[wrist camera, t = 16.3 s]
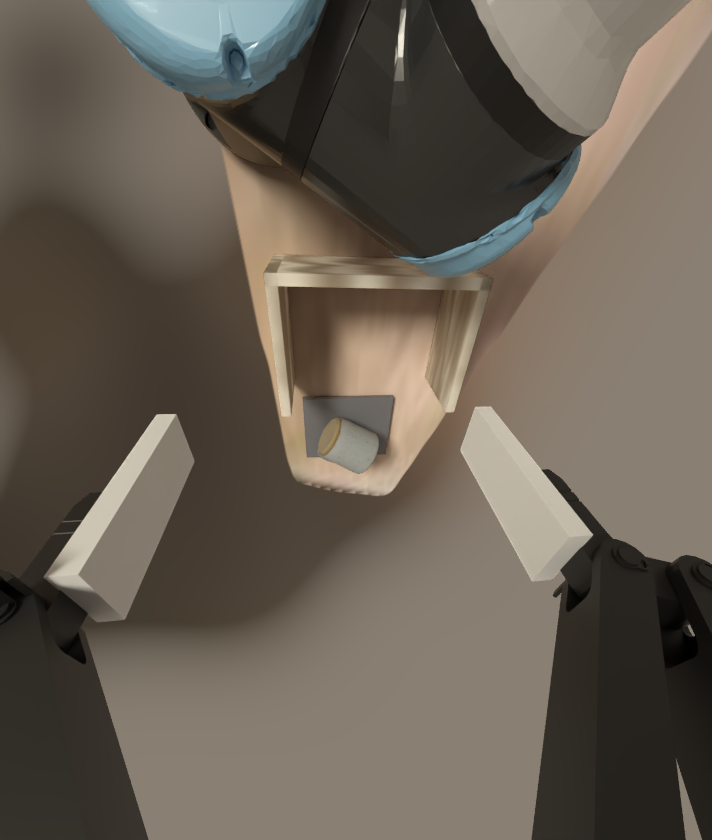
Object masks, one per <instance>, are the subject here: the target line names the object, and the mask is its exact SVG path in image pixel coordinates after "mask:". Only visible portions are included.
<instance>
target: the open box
mask: <svg viewBox="0 0 712 840" xmlns="http://www.w3.org/2000/svg"><path fill="white" fill-rule="evenodd" d="M264 281H265V288H266V296H267V304H268V312H269V320H270V328H271V336H272V343H273V351H274V359H275V367H276V375H277V383H278V391H279V399H280V406H281V414H282V416H291V413H292V404H293V394H294V385H295V370H294V358H293V347H292V335H291V323H290V312H289V300H288V288H287V286H289V287H335V288H382V289H429V290H443V293H442V297H441V302H440V307H439V312H438V316H437V321H436V326H435V331H434V336H433V340H432V345H431V350H430V355H429V360H428V364H427V369H426V374H425V378H426V379H427V381H428V383H429V385H430V386H431V388H432V390H433V391H434V393H435V395H436V397H437V398H438V400H439V402H440V404H441V405H442V407H443V409H444V411H445V412H454V410H455V406H456V403H457V399H458V396H459V393H460V390H461V386H462V383H463V380H464V376H465V373H466V370H467V366H468V363H469V359H470V356H471V353H472V349H473V346H474V343H475V339H476V336H477V333H478V329H479V326H480V322H481V319H482V316H483V312H484V309H485V306H486V302H487V299H488V296H489V292H490V289H491V286H492V282H493V278H491V277H489V276H487V275H485V274H483V273H482V272H480V271H478V270H475V271H473V272H471V273H468V274H465V275H462V276H458V277H452V278H438V277H434V276H431V275H428V274H426V273H425V272H423V271H421V270H420V269H419V268H417V267H416V266H414V265H412V264H411V263H409V262H406V261H403V260H400V259H399V258H370V257H340V256H309V255H279V254H274V256H273V258H272V259H271V261H270V263H269V264H268V266H267V268H266V269H265V271H264Z"/></svg>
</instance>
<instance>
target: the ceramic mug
mask: <svg viewBox="0 0 712 840" xmlns="http://www.w3.org/2000/svg"><path fill="white" fill-rule="evenodd" d="M378 447H379V439H378V436H377V435H376V434H375V433H373V432H371V431H369V430H367V429H365V428H363V427H361V426H358V425H356V424H354V423H352V422H350V421H348V420H346V419H343V418H338V417H337V418H334V419H332V420H331V421H330V422H329V423H328V424H327V425H326V427H325V428H324V430H323V432H322V434H321V437H320V440H319V444H318V452H317V453H318V455H319V456H320V457H321V458H323V459H324V460H326V461H329V462H333V463H336V464H338V465H340V466H342V467H344V468H346V469H348V470H350V471H352V472H354V473H357V474H360V473H363V472H365V471H366V470H367V469H368V468H369V467H370V466H371V464H372V463H373V461H374V459H375V457H376V455H377V452H378Z"/></svg>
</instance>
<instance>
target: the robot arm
mask: <svg viewBox="0 0 712 840" xmlns="http://www.w3.org/2000/svg"><path fill="white" fill-rule="evenodd" d="M86 1H87V2H88V4H89V5H90V6H91V8H92V9H93V10H94V11H95V13H96V14H97V15H98V16H99V18H100V19H101V20H102V21H103V22H104V23H105V25H106V26H107V27H108V28H109V29H110V30H111V31H112V32H113V34H114V35H115V37H116V38H117V39H118V41H119V42H120V43H121V44H122V45H124V46H125V47H126V48H127V49H128V51H129V53H130V54H131V55H132V57H133V58H134V59H135V60H136V61H137V62H139V63H140V64H141V65H142V66H143V67H144V68H145V69H146V70H147V71H148V72H149V73H151V74H152V75H153V76H154V77H156V78H158V79H159V80H161V81H162V82H163V83H165V84H166V85H168V86H169V87H171V88H173V89H175V90H177V91H180V92H183V94H184V96H185V97H186V99H187V101H188V102H189V104H190V106H191V108H192V109H193V111H194V112H195V114H196V115H197V117H198V118H199V119H200V121H201V122H202V123H203V125H204V126H205V127H206V128H207V130H208V131H209V132H210V133H211V134H212V135H213V136H214V137H215V138H216V139H217V140H218V141H219V142H220V143H221V144H223V145H224V146H225V147H226V148H228V149H229V150H230V151H232V152H233V153H235V154H236V155H238V156H240V157H242V158H244V159H246V160H248V161H251V162H253V163H256V164H260V165H264V166H270V167H281V166H283V167H284V168H286V169H287V170H288V171H289V172H291V173H292V174H293V175H295V176H296V177H297V178H298V179H300V180H301V182H303V183H304V184H305V185H307V186H308V187H309V188H310V189H312V190H313V191H314V192H316V193H317V194H318V195H320V196H321V197H322V198H323V199H325V200H326V201H327V202H329V203H330V204H331V205H332V206H334V207H335V208H336V209H338V210H339V211H340V212H342V213H343V214H344V215H345V216H347V217H348V218H349V219H351V220H352V221H353V222H355V223H356V224H357V225H358V226H360V227H361V228H362V229H364V230H365V231H366V232H367V233H369V234H370V235H371V236H373V237H374V238H375V239H377V240H378V241H379V242H380V243H382V244H383V245H384V246H386V247H387V248H388V249H389V250H390V252H391V253H392V254H393V255H394V256H396V257H398V258H399V259H400V260H403V261H406V262H409V263H411V264H412V265H414V266H416V267H417V268H419V269H420V270H421V271H423V272H425V273H426V274H428V275H431V276H434V277H438V278H452V277H458V276H462V275H465V274H468V273H471V272H473V271H475V270H478V269H480V268H482V267H484V266H486V265H488V264H489V263H491V262H493V261H494V260H496V259H498V258H499V257H501V256H502V255H504V254H505V253H506V252H508V251H509V250H510V249H512V248H513V247H514V246H515V245H517V244H518V243H519V242H520V241H522V240H523V239H524V238H525V237H526V236H527V235H528V234H529V233H530V232H531V231H532V230H533V222H534V221H535V220H536V219H538V218H539V217H541V216H544V215H546V214H548V213H549V212H550V211H551V210H552V209H553V208H554V206H555V205H556V204H557V203H558V201H559V200H560V198H561V197H562V196H563V194H564V193H565V191H566V189H567V188H568V186H569V184H570V182H571V180H572V178H573V176H574V174H575V172H576V170H577V168H578V164H579V161H580V156H581V143H583V142H584V141H585V140H586V139H587V138H589V137H590V136H591V135H592V134H594V133H595V132H596V131H597V130H598V129H599V128H601V127H602V126H603V125H604V123H605V122H606V120H607V119H608V117H609V114H610V112H611V109H612V106H613V104H614V101H615V99H616V96H617V93H618V91H619V88H620V86H621V83H622V81H623V78H624V75H625V73H626V70H627V68H628V65H629V64H630V62H631V61H632V59H633V57H634V56H635V54H636V52H637V51H638V49H639V48H640V47H642V46H643V45H644V44H645V43H646V42H647V41H648V40H649V39H650V38H651V37H652V36H653V35H654V34H656V33H657V32H658V31H659V30H660V29H661V28H662V27H663V26H664V25H665V24H666V23H667V22H669V21H670V20H671V19H672V18H673V17H674V16H675V15H676V14H677V13H678V12H679V11H680V10H681V9H683V8H684V7H685V6H686V5H687V4H688V3H689V2H690V1H691V0H86ZM460 451H461V453H462V455H463V456H464V458H465V460H466V462H467V464H468V466H469V467H470V469H471V471H472V473H473V475H474V476H475V478H476V480H477V482H478V484H479V486H480V487H481V489H482V491H483V493H484V495H485V497H486V498H487V500H488V502H489V504H490V506H491V507H492V509H493V511H494V513H495V515H496V516H497V518H498V520H499V522H500V524H501V526H502V528H503V529H504V531H505V533H506V535H507V537H508V538H509V540H510V542H511V544H512V546H513V548H514V549H515V551H516V553H517V555H518V557H519V559H520V560H521V562H522V564H523V566H524V568H525V569H526V571H527V573H528V575H529V576H530V579H531V580H532V581H541V580H552V579H553V578H554V577H555V576H556V575H557V574H558V573H559V572H560V571H561V572H562V574H563V575H564V577H565V578H566V580H565V581H564V582H563V583H562V584H561V585H560V586H559V587H558V588H557V589H556V590H555V592H554V594H553V596H554V597H557V596H558V595H559V594H560V593H561V592H562V594H561V602H560V610H559V619H558V626H557V635H556V643H555V651H554V660H553V667H552V676H551V685H550V693H549V700H548V709H547V718H546V725H545V733H544V742H543V751H542V758H541V766H540V774H539V783H538V791H537V799H536V808H535V816H534V824H533V833H532V840H686V839H685V831H684V822H683V814H682V806H681V798H680V790H679V781H678V773H677V764H676V759H677V762H678V765H679V768H680V772H681V775H682V778H683V781H684V784H685V787H686V790H687V793H688V796H689V800H690V803H691V806H692V809H693V812H694V815H695V818H696V821H697V825H698V828H699V831H700V834H701V837H702V840H712V564H710V563H709V562H707V561H705V560H703V559H700V558H697V557H695V556H689V555H685V556H681V557H679V558H678V559H676V560H675V561H674V562H672V563H670V562H666V561H661V560H656V559H652V558H648V557H645V556H644V555H643V554H642V553H641V552H639V551H638V550H637V549H636V548H635V547H633V546H631V545H629V544H627V543H626V542H623V541H620V540H617V539H612V537H611V536H610V535H609V534H608V533H607V532H606V531H605V529H604V528H603V527H602V526H601V525H600V524H599V522H598V521H597V520H596V519H595V518H594V517H593V515H592V514H591V513H590V512H589V511H588V509H587V508H586V507H585V506H584V505H583V504H582V502H579V499H578V498H577V496H576V495H575V494H574V493H573V492H571V489H570V488H569V487H568V486H567V484H566V483H565V482H564V481H563V480H562V479H561V478H560V477H559V476H557V475H556V474H554V473H553V472H552V471H550V470H549V469H546V470H541V469H540V468H539V466H538V465H537V464H536V463H535V462H534V460H533V459H532V458H531V456H530V455H529V454H528V453H527V451H526V450H525V449H524V448H523V446H522V445H521V444H520V443H519V441H518V440H517V439H516V438H515V436H514V435H513V434H512V433H511V431H510V430H509V429H508V428H507V426H506V425H505V424H504V423H503V421H502V420H501V419H500V418H499V416H498V415H497V414H496V413H495V411H494V410H493V409H492V408H491V407H475V410H474V412H473V416H472V418H471V421H470V424H469V427H468V430H467V433H466V435H465V439H464V442H463V444H462V447H461V450H460ZM193 463H194V459H193V456H192V453H191V451H190V448H189V446H188V443H187V441H186V438H185V436H184V433H183V430H182V428H181V425H180V423H179V420H178V417H177V415H176V414H162V415H156V416H155V418H154V419H153V421H152V422H151V423H150V425H149V426H148V428H147V429H146V431H145V432H144V433H143V435H142V436H141V438H140V439H139V441H138V442H137V444H136V445H135V447H134V448H133V449H132V451H131V452H130V454H129V455H128V456H127V458H126V459H125V461H124V462H123V464H122V465H121V467H120V468H119V469H118V471H117V472H116V474H115V475H114V477H113V478H112V480H111V481H110V482H109V484H108V485H107V487H106V488H105V489H104V491H103V492H97V493H89V494H88V495H87V496H86V497H84V498H83V499H82V500H81V501H79V502H78V503H77V504H76V505H74V506H73V508H72V509H71V510H70V512H69V513H68V514H67V516H66V517H65V518H64V520H63V523H61V524H60V525H59V526H58V528H57V529H56V530H55V532H54V535H53V536H51V537H50V538H49V540H48V541H47V542H46V543H45V545H44V546H43V548H42V549H41V550H40V551H39V553H38V554H37V555H36V557H35V558H34V559H33V561H32V562H31V563H30V565H29V566H28V567H27V569H26V570H25V571H24V572H23V574H22V575H21V576H20V578H19V579H17V578H16V577H14V576H13V575H12V574H11V573H9V572H7V571H2V570H0V840H148V837H147V834H146V830H145V827H144V824H143V820H142V817H141V814H140V811H139V807H138V804H137V801H136V798H135V794H134V791H133V788H132V785H131V781H130V778H129V775H128V771H127V768H126V765H125V762H124V759H123V755H122V752H121V749H120V746H119V742H118V739H117V736H116V732H115V729H114V726H113V723H112V719H111V716H110V713H109V709H108V706H107V703H106V700H105V696H104V693H103V690H102V687H101V683H100V680H99V677H98V673H97V670H96V667H95V664H94V661H93V657H92V654H91V651H90V647H89V644H88V641H87V637H86V634H85V632H84V630H83V629H82V628H81V625H82V623H83V622H84V620H85V618H86V616H87V614H88V615H89V616H90V617H91V618H93V619H94V620H95V621H96V622H104V621H114V620H125V618H126V616H127V613H128V611H129V609H130V606H131V604H132V602H133V600H134V598H135V595H136V593H137V591H138V588H139V586H140V584H141V582H142V579H143V577H144V575H145V573H146V570H147V568H148V566H149V563H150V561H151V559H152V557H153V554H154V552H155V550H156V547H157V545H158V543H159V541H160V539H161V536H162V534H163V532H164V529H165V527H166V525H167V523H168V520H169V518H170V516H171V514H172V511H173V509H174V507H175V504H176V502H177V500H178V498H179V495H180V493H181V491H182V488H183V486H184V484H185V482H186V479H187V477H188V475H189V472H190V470H191V468H192V466H193ZM688 625H691V628H692V630H693V632H694V634H695V636H692V634H691V633H690V631H689V629H688V627H687V626H688Z"/></svg>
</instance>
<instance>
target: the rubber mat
mask: <svg viewBox="0 0 712 840" xmlns="http://www.w3.org/2000/svg"><path fill="white" fill-rule="evenodd" d="M392 405H393V395H375V396H322V397H303V409H304V423H305V437H306V451H307V457H320V456H319V455H318V453H317V452H318V444H319V440H320V437H321V434H322V432H323V430H324V428H325V427H326V425H327V424H328V423H329V422H330V421H331V420H332V419H334V418H337V417H338V418H343V419H346V420H348V421H350V422H352V423H354V424H356V425H358V426H361V427H363V428H365V429H367V430H369V431H371V432H373V433H375V434H376V435H377V436H378V439H379V447H378V452H377V455H378V454H386V447H387V440H388V433H389V426H390V419H391V412H392Z"/></svg>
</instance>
